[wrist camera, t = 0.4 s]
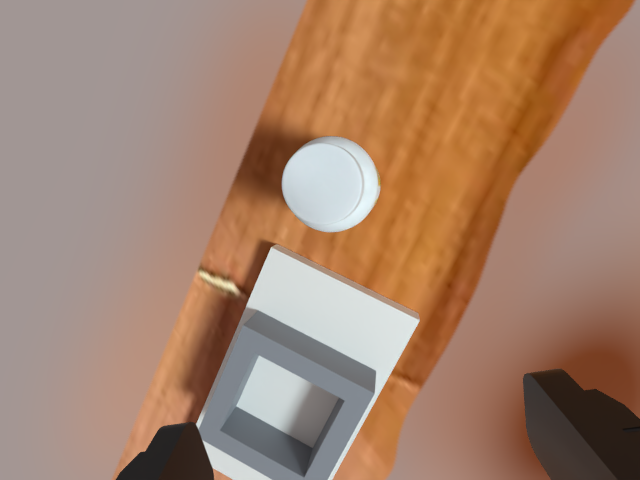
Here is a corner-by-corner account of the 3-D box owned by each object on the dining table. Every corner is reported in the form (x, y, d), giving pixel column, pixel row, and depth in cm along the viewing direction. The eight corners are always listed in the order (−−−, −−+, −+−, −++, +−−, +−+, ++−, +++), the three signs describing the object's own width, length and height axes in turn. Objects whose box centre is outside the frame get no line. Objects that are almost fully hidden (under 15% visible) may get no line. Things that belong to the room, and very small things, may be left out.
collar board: (276, 244, 28) (256, 255, 24) (418, 313, 27) (423, 338, 23) (193, 439, 33) (163, 479, 28) (312, 506, 32) (299, 558, 27)
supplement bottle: (372, 227, 27) (363, 251, 18) (303, 213, 28) (259, 228, 18) (387, 154, 26) (387, 138, 17) (315, 141, 27) (276, 119, 17)
